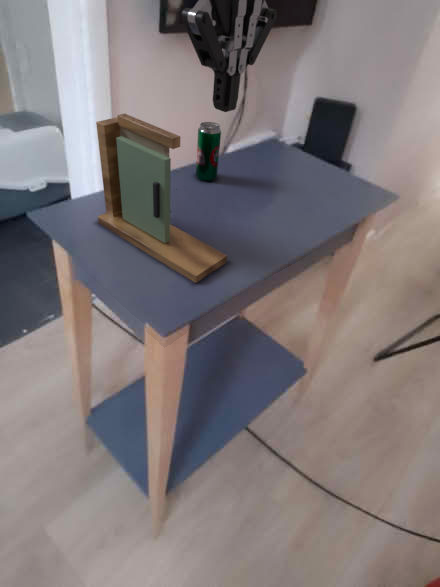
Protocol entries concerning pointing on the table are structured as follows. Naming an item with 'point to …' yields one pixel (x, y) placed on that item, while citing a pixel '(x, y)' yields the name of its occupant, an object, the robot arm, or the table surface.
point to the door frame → (176, 253)
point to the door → (145, 188)
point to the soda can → (208, 151)
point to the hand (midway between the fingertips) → (224, 109)
